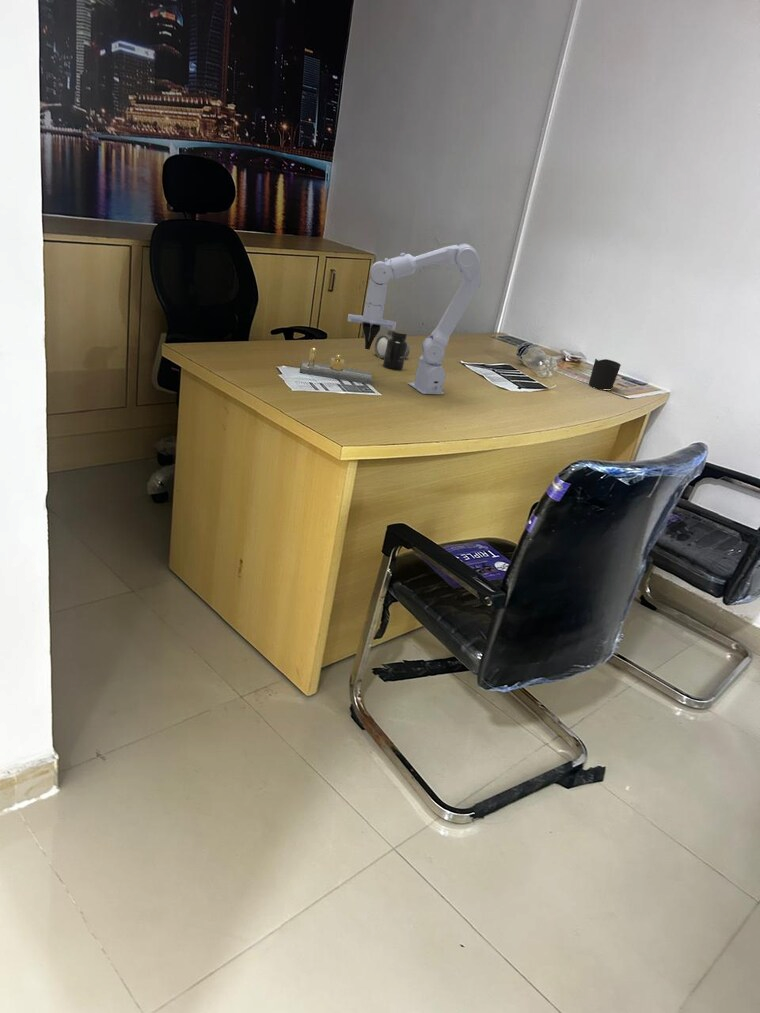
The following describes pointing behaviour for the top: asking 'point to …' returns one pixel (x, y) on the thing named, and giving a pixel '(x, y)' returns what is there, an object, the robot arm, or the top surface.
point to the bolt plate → (334, 371)
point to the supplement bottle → (395, 351)
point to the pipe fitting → (382, 344)
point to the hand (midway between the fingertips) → (367, 348)
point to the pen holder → (604, 374)
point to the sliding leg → (337, 363)
